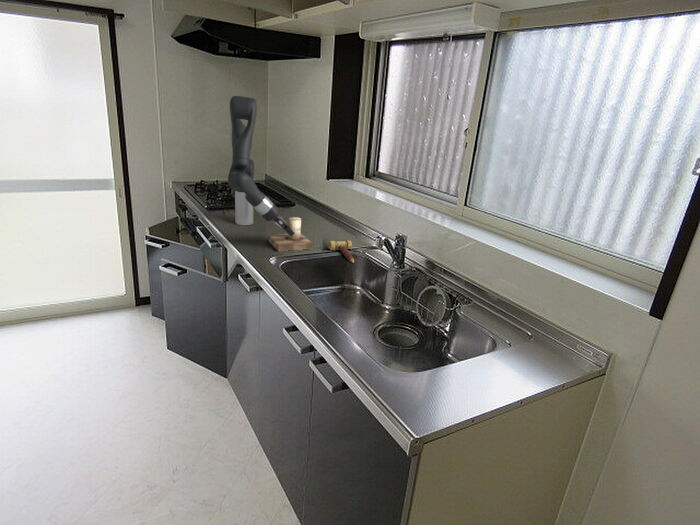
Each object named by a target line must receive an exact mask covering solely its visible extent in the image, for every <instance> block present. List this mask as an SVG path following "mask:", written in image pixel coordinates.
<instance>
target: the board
mask: <svg viewBox="0 0 700 525" xmlns="http://www.w3.org/2000/svg"><path fill="white" fill-rule="evenodd" d="M267 237H268V240H267V241H268V242H269V243H270V244H271V245H272V247H273V248H274V249H275V250H276V251H277V252H289V251H288V250H294V251H304V250H303V249H309V250H313V242H312V241H311V240H309V239H308V238H307V237H306V236H305V235H304V234H302V233H301V235H300V240H289V239H288V233H278V234H277V233H275V234H274V233H273V234H268V236H267Z"/></svg>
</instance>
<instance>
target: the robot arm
mask: <svg viewBox="0 0 700 525" xmlns="http://www.w3.org/2000/svg"><path fill="white" fill-rule="evenodd" d="M257 111H258V104H257V99H256V98H254V97H250V96H249V97H247V96H242V95H233V96H232V97H230V101H229V115H230V123H231V148H232V149H231V150H232V151H231V152H232V160H231V166H230V168H229V172H228V176H227V183H228V186H229V188H230V190H232V191H234V202H235V203H234V212H235V213H234V217H235V218H234V220H235V221H234V222H235V224H236V225H240V226H249V225H253V224H254V210H255V211H256V212H257V213H258V214H259V215H260V216H261V217H262V219H264V220H265V221H266V222H270V221H272V222H273V223H274V224H275V225H276V226H278V227H279V228H280V229H282V230H284V232H286V234H289V235H290V236H293V235H294V232H293V231H292V230H291V229H290V227H289V224H287V222H286V221H285V220H284V219H283V217H282V216H281V215H280V214H279V212H280V210H279V208H278V207H277V205H275V203H273V202H272V200H271V199H269V197H267V196H266V195H265V194H264V193H263V192H262V191H261V190H260V189H259V188H258V185H257V184H256V183H255V180H254V178H255V177H254V176H255V163H254V160H253V159H251V150H252V147H253V136H254V131H255V124H256V118H257ZM242 120H245V121H247V122H246V123H247V125H245V124H244V122H243V121H242Z"/></svg>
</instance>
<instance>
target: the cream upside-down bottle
mask: <svg viewBox="0 0 700 525" xmlns="http://www.w3.org/2000/svg"><path fill="white" fill-rule="evenodd" d="M288 226H289V227H290V229H291V230H292V231H293V232H294V235H293V236H290V235H289V234H288V233H287V234H288V239H289V240H300V235H301V234H302V232H301V230H302V218H301V217H297V216H296V217H295V216H292V217H289V218H288Z"/></svg>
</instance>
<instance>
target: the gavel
mask: <svg viewBox="0 0 700 525" xmlns="http://www.w3.org/2000/svg"><path fill="white" fill-rule="evenodd" d="M352 248H353V242H352V241H351V240H344V241H343V240H341V241H335V240H329V242H328V250H329V249H330V251H331V250H335V251H341V253H342V255H344V257H345V258H346V259H347V261H348V262H349V263H353V264H354V263H355V259H354V256H353V255H352V253H351V252H350V250H347V249H351V250H352Z"/></svg>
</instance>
